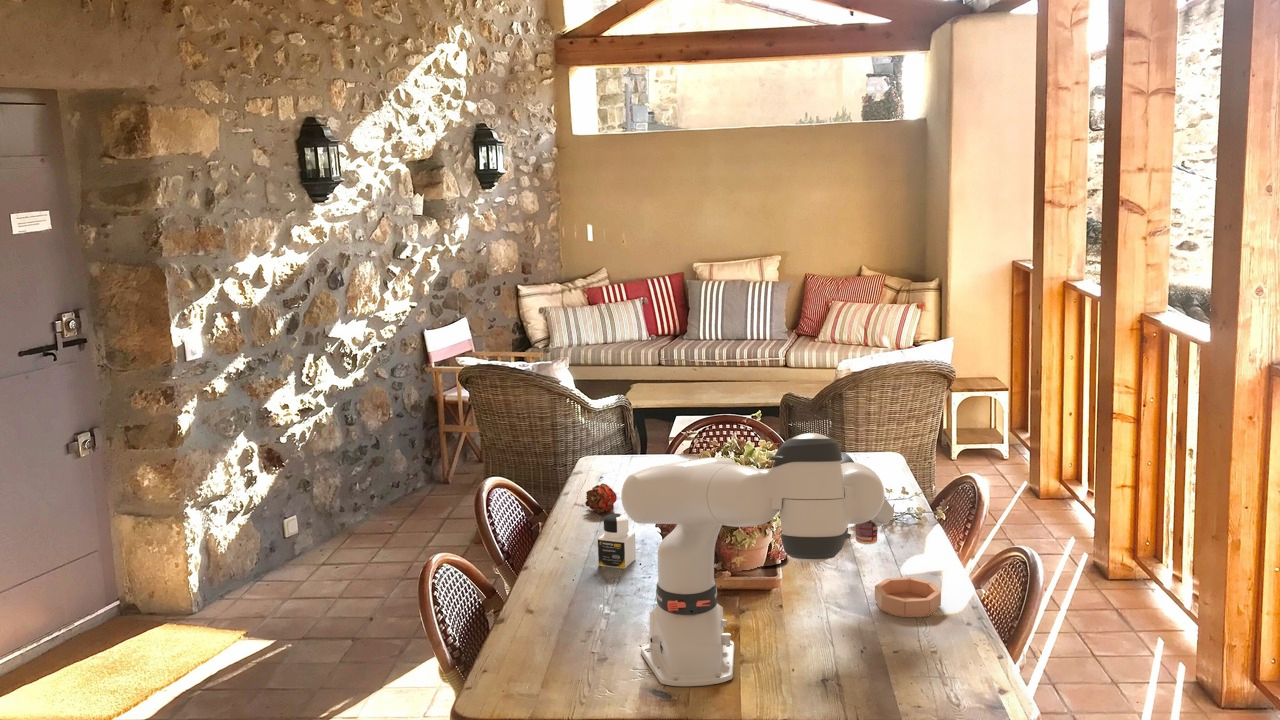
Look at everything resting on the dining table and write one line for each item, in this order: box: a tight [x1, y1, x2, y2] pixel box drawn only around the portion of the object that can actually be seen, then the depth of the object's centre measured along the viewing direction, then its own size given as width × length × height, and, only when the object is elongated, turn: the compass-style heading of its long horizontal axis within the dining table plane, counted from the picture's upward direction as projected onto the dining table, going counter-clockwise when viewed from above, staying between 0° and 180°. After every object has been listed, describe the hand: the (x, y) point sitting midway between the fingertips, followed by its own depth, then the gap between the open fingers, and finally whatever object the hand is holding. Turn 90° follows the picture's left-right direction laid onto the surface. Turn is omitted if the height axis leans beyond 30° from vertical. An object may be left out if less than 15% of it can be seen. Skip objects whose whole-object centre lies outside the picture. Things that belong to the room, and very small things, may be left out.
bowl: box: [874, 576, 942, 618], centre depth 238 cm, size 13×13×4 cm
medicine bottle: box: [597, 513, 637, 570], centre depth 268 cm, size 7×7×12 cm
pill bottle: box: [855, 520, 879, 545], centre depth 245 cm, size 5×5×8 cm
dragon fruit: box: [584, 482, 618, 515], centre depth 309 cm, size 8×8×12 cm
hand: (868, 520), depth 246 cm, fingers closed on pill bottle, 5 cm apart
